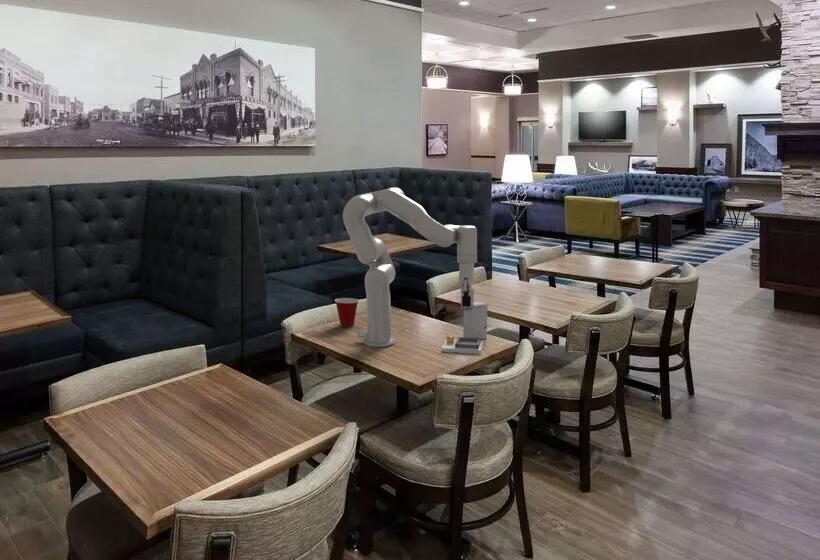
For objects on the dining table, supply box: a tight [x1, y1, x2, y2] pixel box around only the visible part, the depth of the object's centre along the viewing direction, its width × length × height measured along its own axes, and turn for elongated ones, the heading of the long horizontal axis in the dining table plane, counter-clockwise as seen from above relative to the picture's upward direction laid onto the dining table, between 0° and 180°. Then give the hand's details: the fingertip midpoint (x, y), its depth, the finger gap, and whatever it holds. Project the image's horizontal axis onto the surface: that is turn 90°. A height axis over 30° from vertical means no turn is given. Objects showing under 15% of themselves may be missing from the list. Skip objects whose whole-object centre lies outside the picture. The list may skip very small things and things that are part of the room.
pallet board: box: [441, 336, 484, 355], centre depth 247 cm, size 15×12×3 cm
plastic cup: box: [334, 297, 360, 327], centre depth 278 cm, size 11×11×12 cm
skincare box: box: [462, 301, 488, 340], centre depth 258 cm, size 8×6×15 cm
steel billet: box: [460, 287, 475, 311], centre depth 242 cm, size 5×5×8 cm
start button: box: [445, 334, 455, 343], centre depth 249 cm, size 3×3×2 cm
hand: (467, 304), depth 243 cm, fingers closed on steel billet, 5 cm apart
